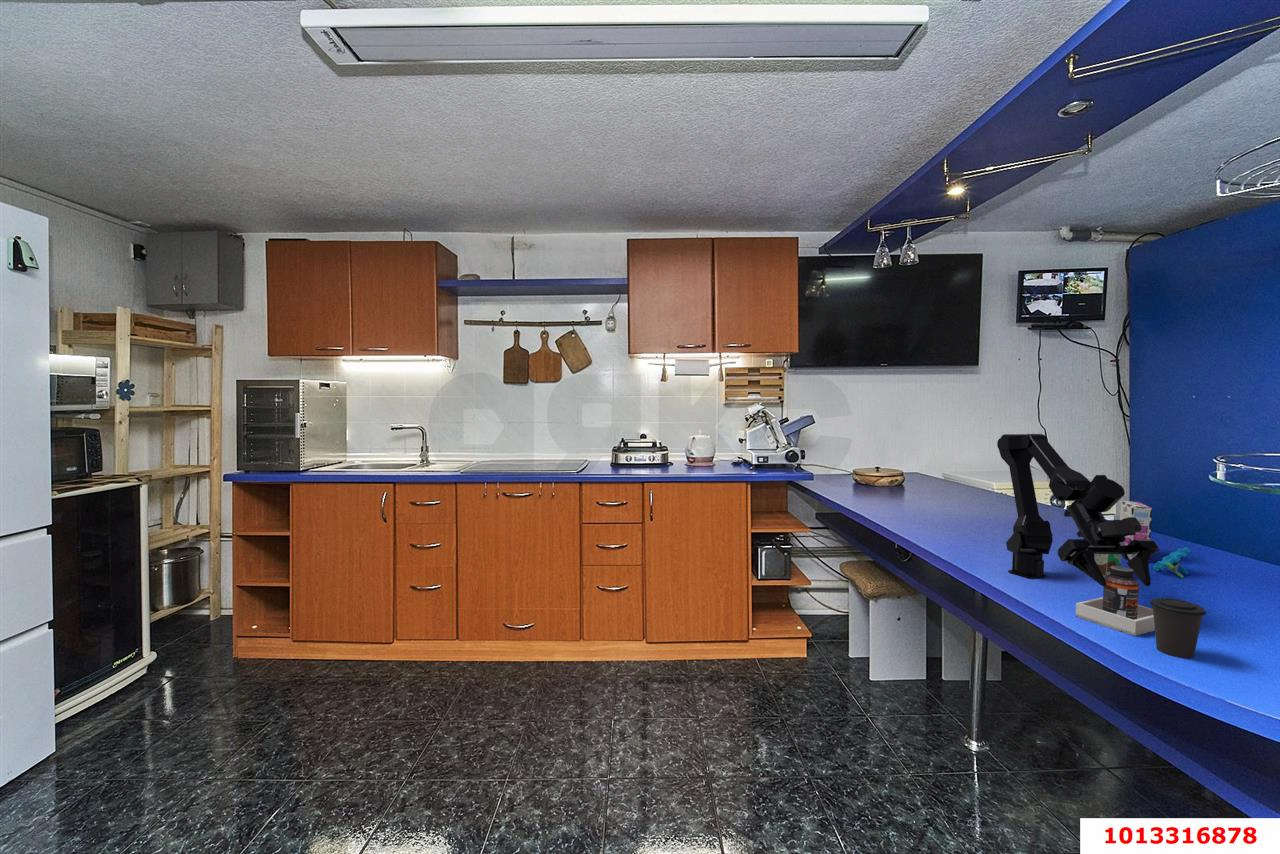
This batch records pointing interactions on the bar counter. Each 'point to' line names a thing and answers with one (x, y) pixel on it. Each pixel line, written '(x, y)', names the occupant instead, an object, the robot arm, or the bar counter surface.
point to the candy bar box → (1141, 514)
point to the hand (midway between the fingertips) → (1126, 585)
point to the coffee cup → (1176, 626)
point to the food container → (1108, 561)
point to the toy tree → (1173, 562)
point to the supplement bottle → (1121, 592)
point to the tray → (1116, 617)
